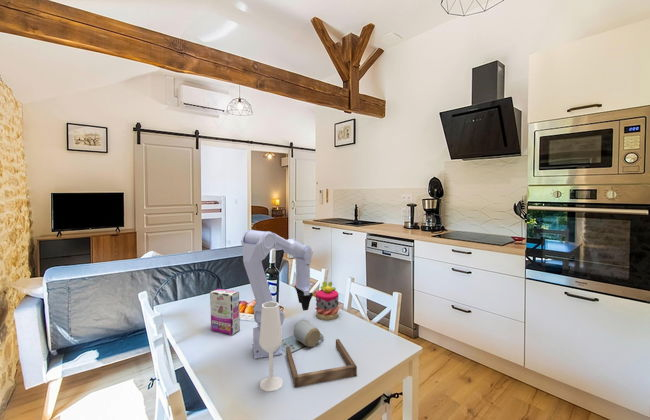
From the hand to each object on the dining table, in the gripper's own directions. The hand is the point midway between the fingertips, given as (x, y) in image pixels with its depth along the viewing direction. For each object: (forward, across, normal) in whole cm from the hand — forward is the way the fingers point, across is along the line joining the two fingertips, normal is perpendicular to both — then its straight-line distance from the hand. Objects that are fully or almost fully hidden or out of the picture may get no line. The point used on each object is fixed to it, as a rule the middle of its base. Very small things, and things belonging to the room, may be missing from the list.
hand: (303, 306), depth 119 cm
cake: (+10, +9, -13) cm, 19 cm away
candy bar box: (+9, +7, +31) cm, 33 cm away
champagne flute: (+9, -31, +16) cm, 36 cm away
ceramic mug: (+10, -11, 0) cm, 15 cm away
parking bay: (+9, -26, 0) cm, 27 cm away
